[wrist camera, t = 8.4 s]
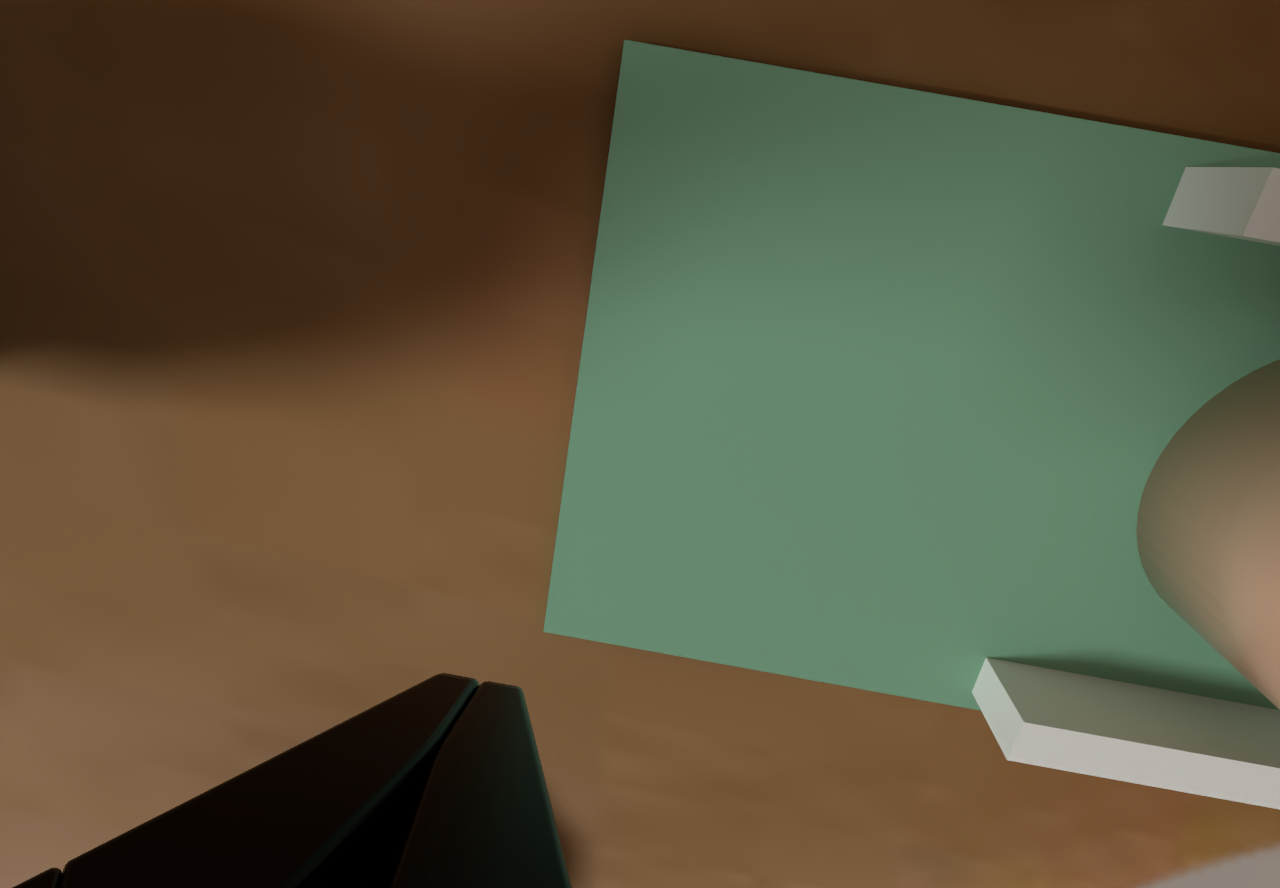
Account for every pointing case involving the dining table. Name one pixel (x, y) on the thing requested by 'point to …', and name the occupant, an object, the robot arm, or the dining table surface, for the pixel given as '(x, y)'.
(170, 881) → the robot arm
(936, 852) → the dining table surface
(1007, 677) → the white rail holder
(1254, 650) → the terracotta pot
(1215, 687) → the green mat
